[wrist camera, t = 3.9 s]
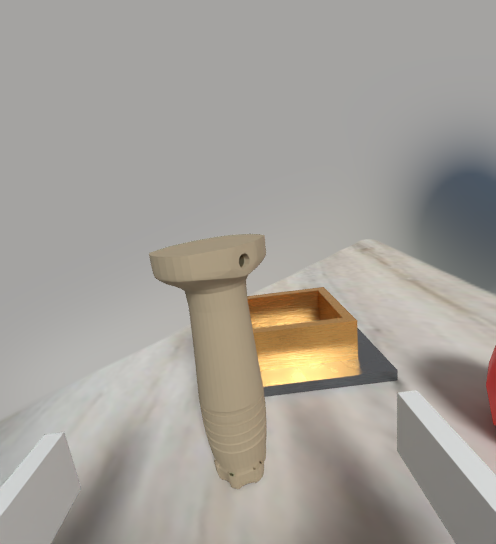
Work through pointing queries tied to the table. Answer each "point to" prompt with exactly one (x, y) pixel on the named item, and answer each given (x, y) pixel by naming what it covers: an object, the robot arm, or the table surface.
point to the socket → (312, 344)
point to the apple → (492, 385)
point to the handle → (223, 346)
